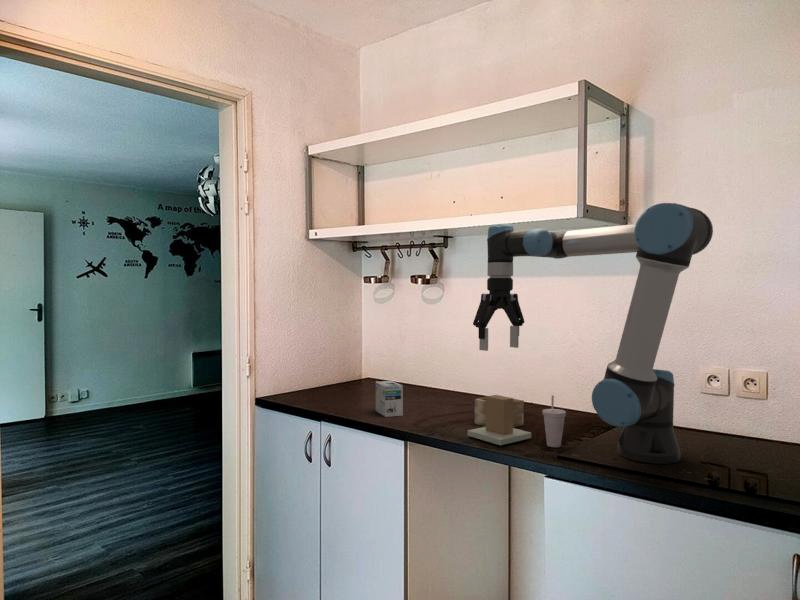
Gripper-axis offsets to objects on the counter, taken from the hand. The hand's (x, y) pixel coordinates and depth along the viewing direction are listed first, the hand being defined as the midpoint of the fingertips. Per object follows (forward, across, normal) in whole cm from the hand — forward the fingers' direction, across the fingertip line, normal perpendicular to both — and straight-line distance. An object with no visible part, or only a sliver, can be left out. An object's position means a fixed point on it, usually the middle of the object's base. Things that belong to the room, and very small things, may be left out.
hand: (499, 349), depth 168 cm
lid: (+25, +3, +3) cm, 25 cm away
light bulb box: (+26, +7, -44) cm, 51 cm away
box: (+26, -11, -9) cm, 29 cm away
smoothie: (+26, -4, +17) cm, 31 cm away
